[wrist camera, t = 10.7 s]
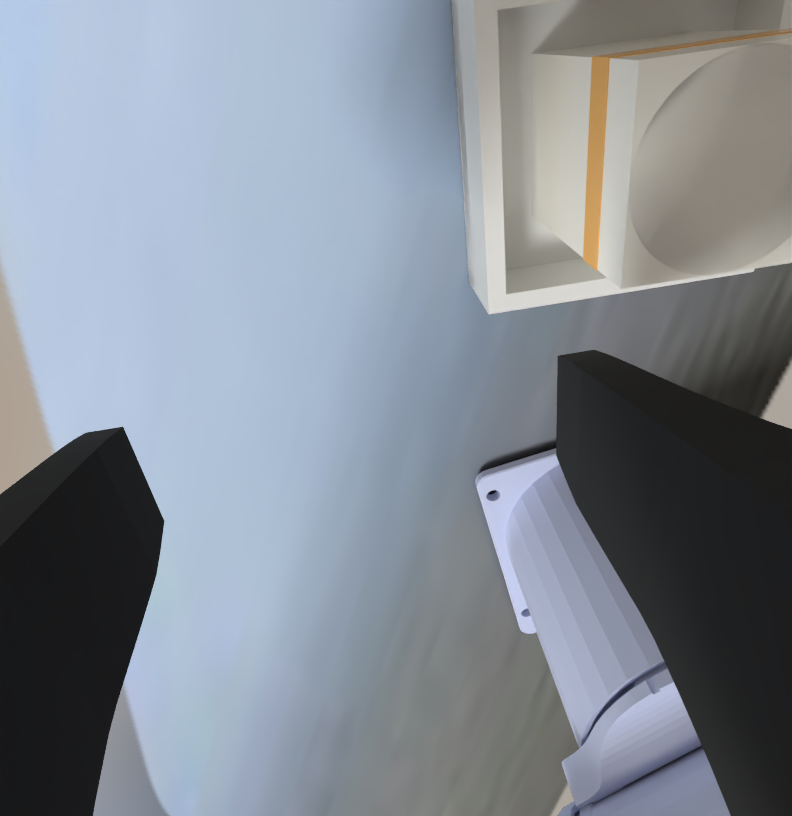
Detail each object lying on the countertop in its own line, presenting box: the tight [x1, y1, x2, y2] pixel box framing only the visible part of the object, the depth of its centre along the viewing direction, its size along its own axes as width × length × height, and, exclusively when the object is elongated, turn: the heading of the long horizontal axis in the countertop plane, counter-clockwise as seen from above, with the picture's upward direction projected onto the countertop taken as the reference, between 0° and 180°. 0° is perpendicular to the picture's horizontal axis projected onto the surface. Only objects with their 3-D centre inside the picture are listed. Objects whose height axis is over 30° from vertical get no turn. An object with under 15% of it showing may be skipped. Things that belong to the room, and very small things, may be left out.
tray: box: [451, 0, 792, 314], centre depth 16 cm, size 8×8×3 cm
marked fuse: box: [532, 28, 792, 289], centre depth 14 cm, size 4×4×6 cm
